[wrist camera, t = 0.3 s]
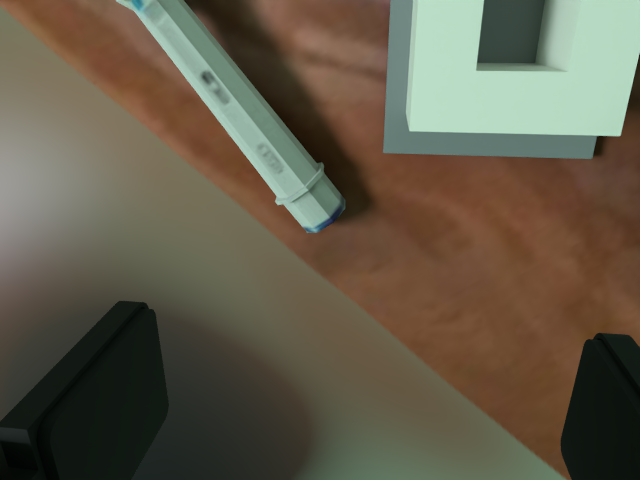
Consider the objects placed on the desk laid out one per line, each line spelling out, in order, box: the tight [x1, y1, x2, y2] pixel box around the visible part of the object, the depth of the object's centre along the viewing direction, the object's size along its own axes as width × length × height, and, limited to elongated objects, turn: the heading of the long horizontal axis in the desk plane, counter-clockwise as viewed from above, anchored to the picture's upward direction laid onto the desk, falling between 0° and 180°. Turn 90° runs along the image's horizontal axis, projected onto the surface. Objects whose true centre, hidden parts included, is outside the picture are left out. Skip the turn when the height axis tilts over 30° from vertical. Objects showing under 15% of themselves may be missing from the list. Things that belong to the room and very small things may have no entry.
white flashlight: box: [116, 0, 345, 233], centre depth 37 cm, size 5×7×25 cm
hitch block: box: [383, 0, 640, 159], centre depth 31 cm, size 18×15×8 cm
